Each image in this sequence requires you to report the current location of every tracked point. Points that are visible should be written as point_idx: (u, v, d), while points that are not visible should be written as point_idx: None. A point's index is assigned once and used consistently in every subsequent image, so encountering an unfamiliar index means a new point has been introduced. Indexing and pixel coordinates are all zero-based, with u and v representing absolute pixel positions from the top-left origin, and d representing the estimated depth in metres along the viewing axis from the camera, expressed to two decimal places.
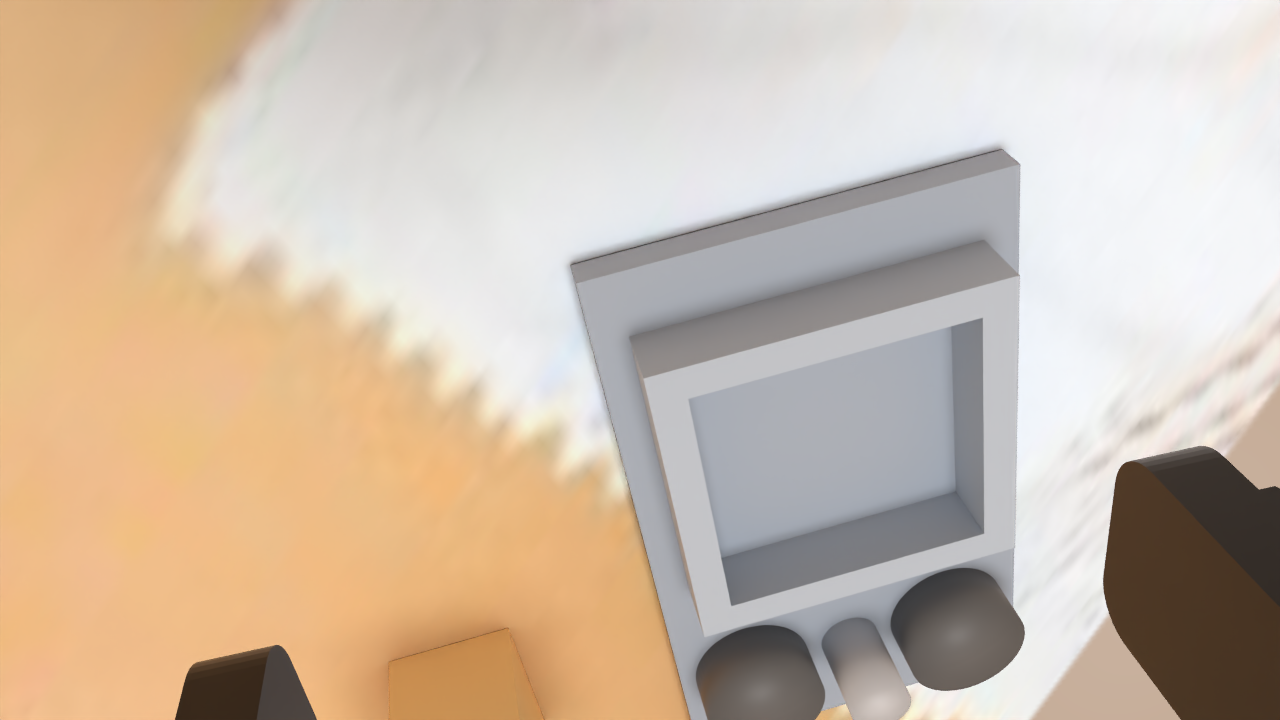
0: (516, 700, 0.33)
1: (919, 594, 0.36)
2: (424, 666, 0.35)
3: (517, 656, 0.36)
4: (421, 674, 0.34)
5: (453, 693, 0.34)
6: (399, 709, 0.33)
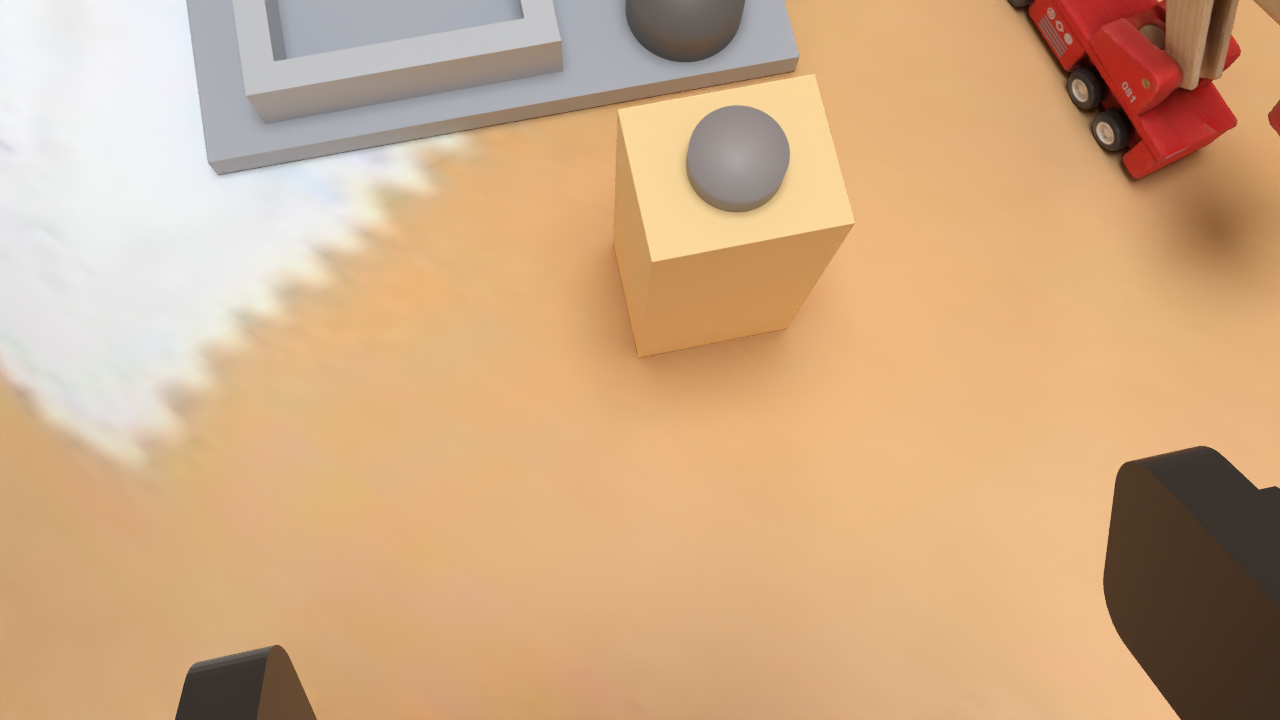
0: (615, 213, 0.33)
1: None
2: (631, 319, 0.35)
3: None
4: (632, 320, 0.35)
5: (626, 280, 0.34)
6: (638, 333, 0.33)
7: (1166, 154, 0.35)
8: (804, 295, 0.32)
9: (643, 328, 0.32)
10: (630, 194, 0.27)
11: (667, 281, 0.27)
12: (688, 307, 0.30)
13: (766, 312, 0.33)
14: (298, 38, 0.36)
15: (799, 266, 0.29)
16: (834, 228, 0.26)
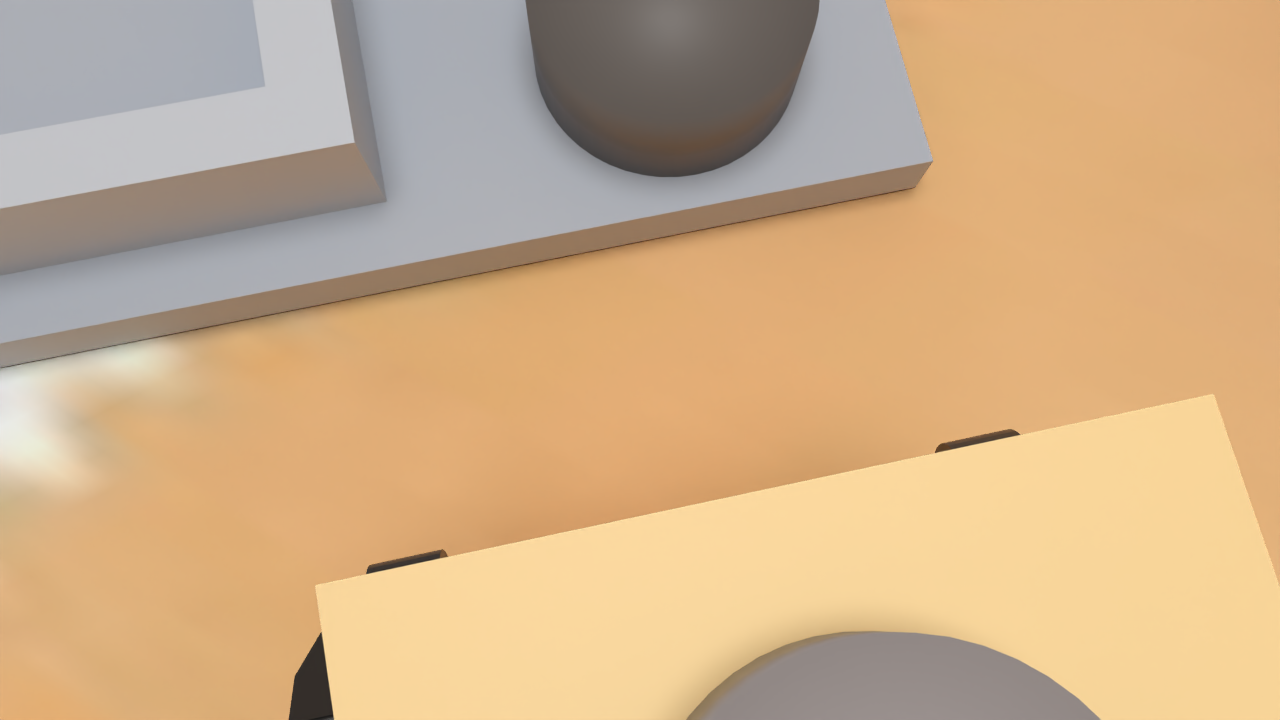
0: None
1: None
2: None
3: None
4: None
5: None
6: None
7: None
8: None
9: None
10: None
11: None
12: None
13: None
14: None
15: None
16: None
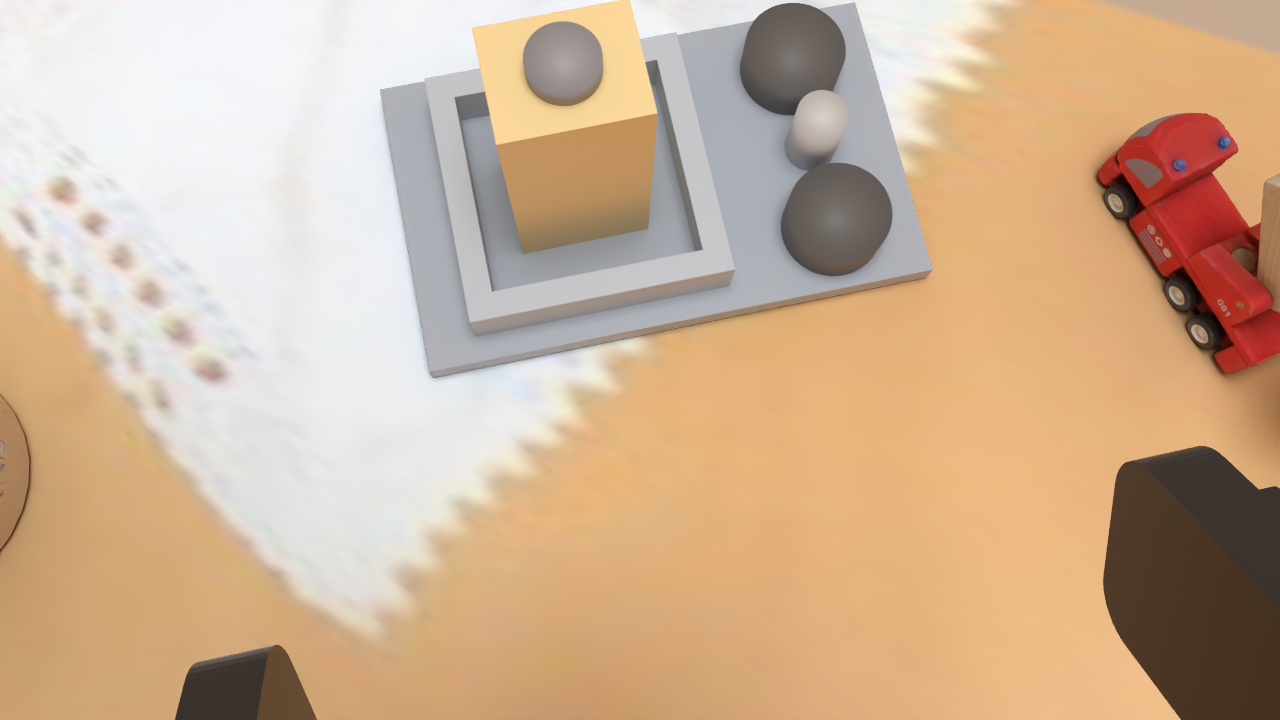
0: None
1: (755, 96, 0.44)
2: None
3: None
4: None
5: None
6: None
7: (1256, 361, 0.41)
8: (648, 190, 0.39)
9: (515, 219, 0.39)
10: None
11: (517, 166, 0.34)
12: (547, 197, 0.37)
13: (621, 208, 0.40)
14: (501, 259, 0.42)
15: (628, 156, 0.36)
16: (642, 118, 0.33)
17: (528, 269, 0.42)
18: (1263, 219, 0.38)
